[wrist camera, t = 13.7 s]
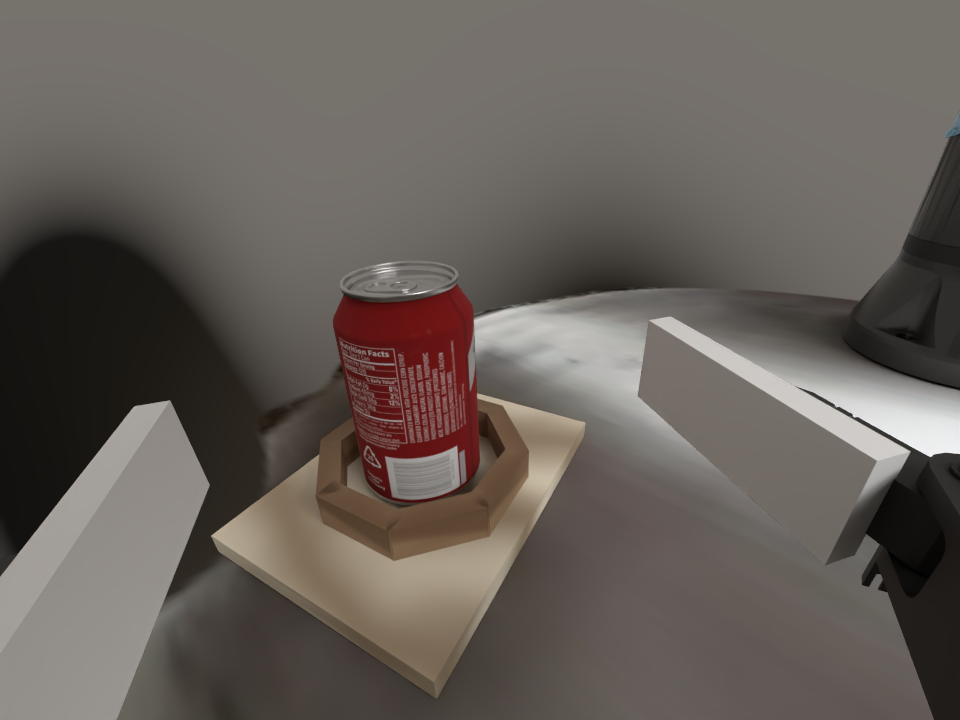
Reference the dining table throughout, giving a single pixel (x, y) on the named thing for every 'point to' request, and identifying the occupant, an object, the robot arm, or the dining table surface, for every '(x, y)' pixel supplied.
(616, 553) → the dining table surface
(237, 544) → the ring board
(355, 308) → the soda can
